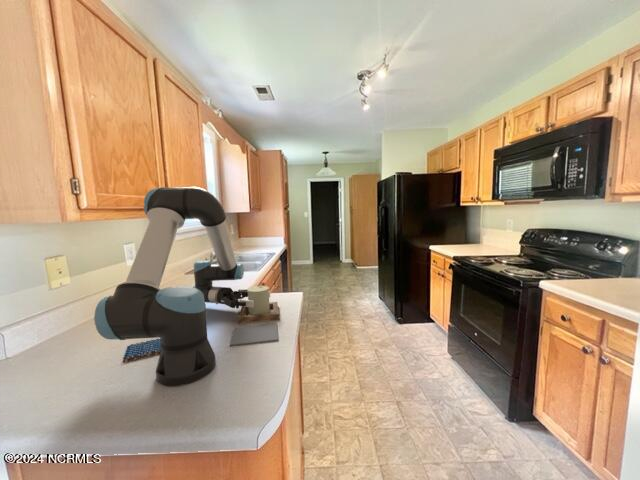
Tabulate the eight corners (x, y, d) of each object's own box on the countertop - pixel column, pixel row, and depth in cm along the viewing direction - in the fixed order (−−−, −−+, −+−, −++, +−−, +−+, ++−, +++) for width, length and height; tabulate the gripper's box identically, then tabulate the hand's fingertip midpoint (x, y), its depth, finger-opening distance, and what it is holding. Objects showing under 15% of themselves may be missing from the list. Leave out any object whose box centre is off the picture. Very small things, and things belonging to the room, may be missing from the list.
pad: (229, 346, 89) (229, 344, 89) (234, 328, 102) (234, 327, 102) (278, 340, 92) (278, 339, 92) (276, 324, 105) (276, 323, 105)
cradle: (238, 323, 107) (238, 318, 107) (242, 309, 123) (242, 304, 123) (278, 319, 110) (278, 314, 110) (277, 306, 126) (277, 301, 126)
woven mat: (163, 355, 86) (163, 349, 85) (122, 365, 81) (122, 358, 80) (164, 341, 95) (163, 336, 94) (127, 349, 90) (127, 344, 89)
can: (272, 310, 121) (271, 284, 120) (266, 318, 112) (265, 290, 111) (253, 310, 122) (251, 284, 121) (245, 318, 113) (243, 290, 111)
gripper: (238, 295, 135) (276, 298, 128) (202, 313, 111) (245, 318, 105) (237, 280, 134) (275, 283, 127) (200, 295, 111) (244, 299, 104)
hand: (262, 298), depth 116 cm, fingers open, 13 cm apart
